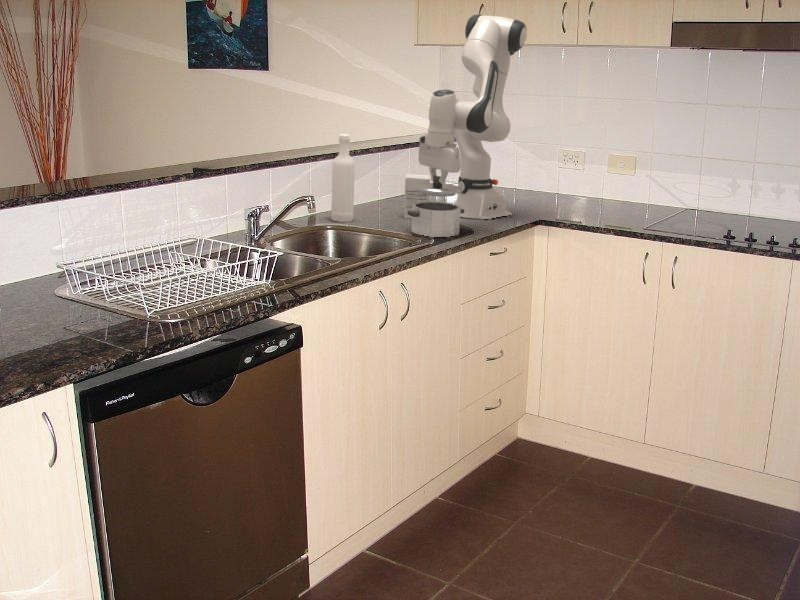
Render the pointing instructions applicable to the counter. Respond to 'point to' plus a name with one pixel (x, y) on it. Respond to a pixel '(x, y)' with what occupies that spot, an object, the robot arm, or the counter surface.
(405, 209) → the supplement box
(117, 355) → the counter surface
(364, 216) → the counter surface
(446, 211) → the pot
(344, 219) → the bottle
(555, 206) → the counter surface
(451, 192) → the lid
